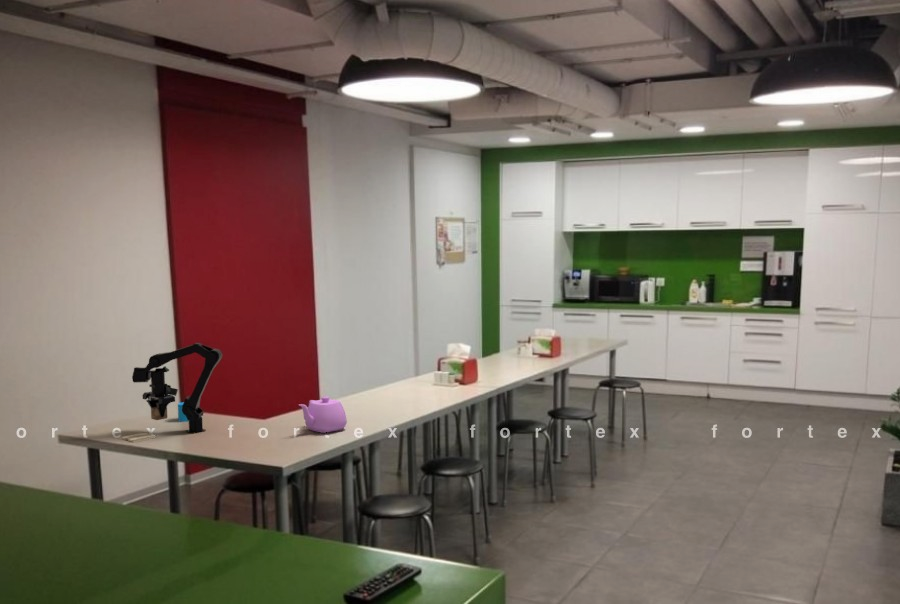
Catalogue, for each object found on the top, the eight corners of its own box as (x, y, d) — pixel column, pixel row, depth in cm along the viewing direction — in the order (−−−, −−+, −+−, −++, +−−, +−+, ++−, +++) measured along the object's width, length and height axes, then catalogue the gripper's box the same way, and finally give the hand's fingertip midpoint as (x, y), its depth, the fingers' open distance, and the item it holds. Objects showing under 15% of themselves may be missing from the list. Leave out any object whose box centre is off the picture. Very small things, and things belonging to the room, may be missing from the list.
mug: (189, 422, 344) (189, 405, 344) (174, 421, 346) (174, 404, 345) (204, 416, 356) (203, 400, 355) (189, 416, 358) (188, 399, 357)
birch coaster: (155, 437, 315) (155, 435, 315) (133, 442, 307) (133, 440, 307) (144, 434, 321) (144, 432, 321) (122, 438, 313) (122, 437, 313)
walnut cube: (167, 418, 324) (167, 407, 323) (156, 420, 320) (156, 409, 319) (161, 416, 327) (161, 405, 326) (151, 418, 323) (150, 407, 323)
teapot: (325, 422, 339) (324, 390, 338) (352, 429, 324) (351, 396, 323) (283, 431, 323) (282, 398, 322) (310, 439, 308) (309, 404, 307)
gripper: (185, 381, 322) (186, 415, 323) (164, 377, 334) (165, 410, 335) (162, 385, 314) (163, 420, 315) (141, 380, 326) (142, 414, 327)
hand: (159, 416), depth 323 cm, fingers closed on walnut cube, 5 cm apart
